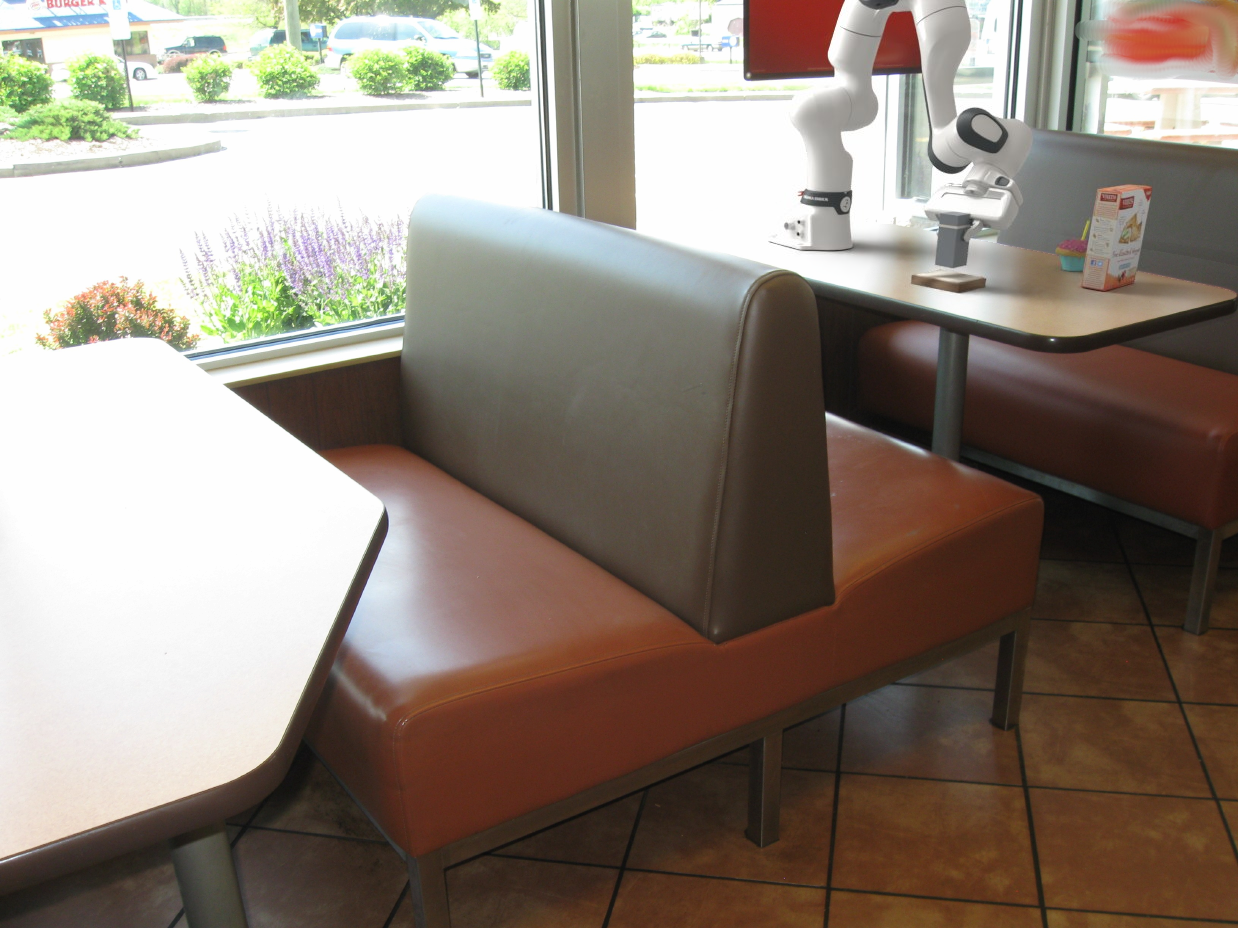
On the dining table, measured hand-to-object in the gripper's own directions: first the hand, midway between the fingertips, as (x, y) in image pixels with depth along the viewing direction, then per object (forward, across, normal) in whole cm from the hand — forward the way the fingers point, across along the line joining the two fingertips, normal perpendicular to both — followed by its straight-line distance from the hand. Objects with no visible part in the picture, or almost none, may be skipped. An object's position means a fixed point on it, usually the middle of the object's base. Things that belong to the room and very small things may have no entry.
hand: (951, 238), depth 233 cm
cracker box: (-12, +22, +27) cm, 37 cm away
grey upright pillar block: (+4, 0, +5) cm, 6 cm away
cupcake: (-19, +8, +34) cm, 40 cm away
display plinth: (+7, 0, +8) cm, 10 cm away
